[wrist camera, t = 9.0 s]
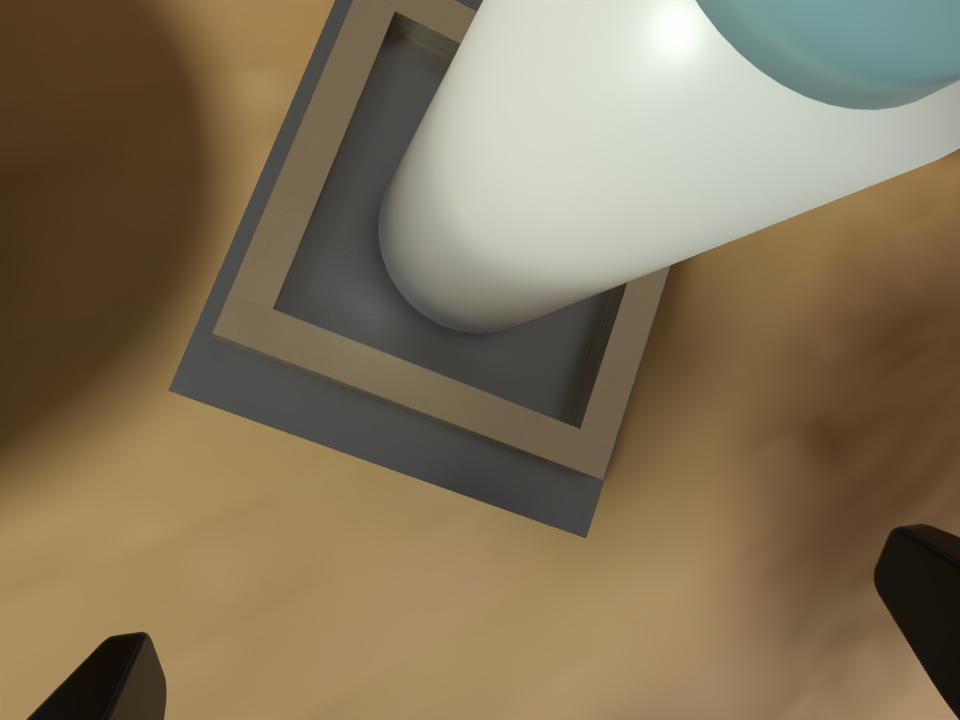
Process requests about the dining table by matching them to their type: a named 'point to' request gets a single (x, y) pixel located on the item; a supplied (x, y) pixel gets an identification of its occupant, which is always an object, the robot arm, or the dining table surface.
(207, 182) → the dining table surface
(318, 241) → the grey rectangular tray
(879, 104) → the white canister
